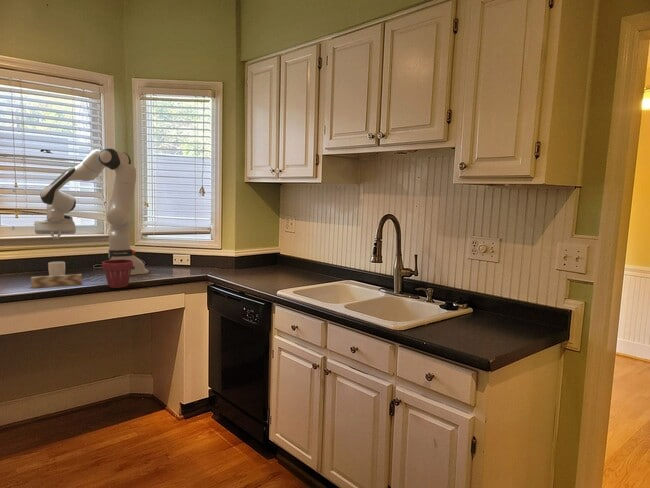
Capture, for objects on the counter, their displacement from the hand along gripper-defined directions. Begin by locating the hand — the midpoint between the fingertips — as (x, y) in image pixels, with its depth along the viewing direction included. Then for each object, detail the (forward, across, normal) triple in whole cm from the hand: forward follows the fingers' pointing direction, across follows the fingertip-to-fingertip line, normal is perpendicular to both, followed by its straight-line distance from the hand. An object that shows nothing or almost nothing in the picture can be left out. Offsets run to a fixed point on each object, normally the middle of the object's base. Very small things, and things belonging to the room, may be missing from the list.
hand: (55, 238), depth 262 cm
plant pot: (+47, +27, -19) cm, 58 cm away
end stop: (+38, 0, -9) cm, 39 cm away
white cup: (+30, 0, -1) cm, 30 cm away
